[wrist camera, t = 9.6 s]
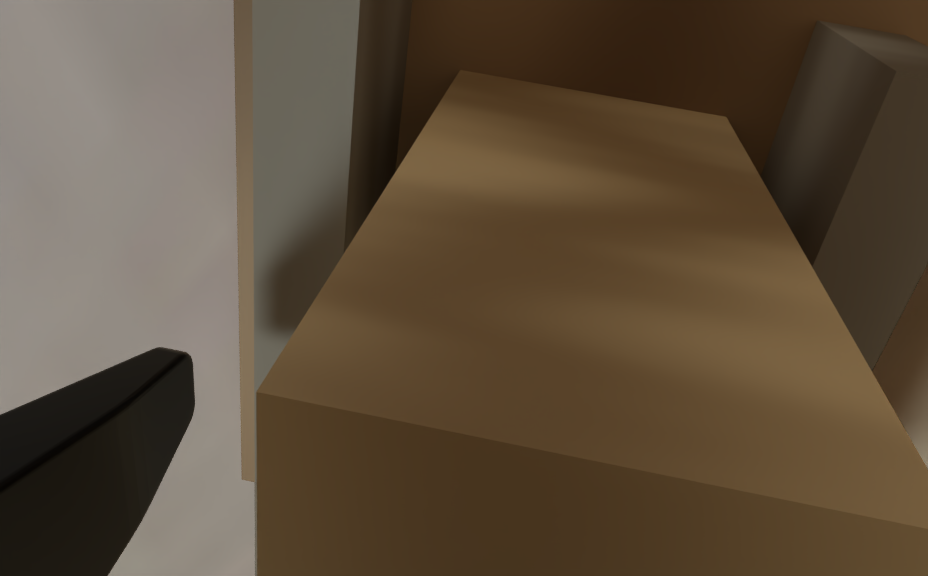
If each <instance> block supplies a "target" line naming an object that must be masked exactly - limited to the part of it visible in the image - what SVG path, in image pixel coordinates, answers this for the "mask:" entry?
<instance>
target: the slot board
mask: <svg viewBox="0 0 928 576" xmlns="http://www.w3.org/2000/svg"><path fill="white" fill-rule="evenodd" d="M234 49H235V108H236V167H237V226H238V285H239V344H240V403H241V462H242V480H247V481H252V482H255V576H257V436H256V392H257V390H258V388H259V387H260V385H261V384H262V382H263V380H264V379H265V377H266V376H267V374H268V373H269V371H270V369H271V368H272V366H273V365H274V363H275V362H276V360H277V358H278V357H279V355H280V354H281V352H282V350H283V349H284V347H285V346H286V344H287V343H288V341H289V339H290V338H291V336H292V335H293V333H294V332H295V330H296V328H297V327H298V325H299V324H300V322H301V321H302V319H303V317H304V316H305V314H306V313H307V311H308V309H309V308H310V306H311V305H312V303H313V302H314V300H315V298H316V297H317V295H318V294H319V292H320V291H321V289H322V287H323V286H324V284H325V283H326V281H327V279H328V278H329V276H330V275H331V273H332V272H333V270H334V268H335V267H336V265H337V264H338V262H339V261H340V259H341V257H342V256H343V254H344V253H345V251H346V249H347V248H348V246H349V245H350V243H351V242H352V240H353V238H354V237H355V235H356V234H357V232H358V231H359V229H360V227H361V226H362V224H363V223H364V221H365V220H366V218H367V216H368V215H369V213H370V212H371V210H372V208H373V207H374V205H375V204H376V202H377V201H378V199H379V197H380V196H381V194H382V193H383V191H384V190H385V188H386V186H387V185H388V183H389V182H390V180H391V178H392V177H393V175H394V174H395V172H396V171H397V169H398V167H399V166H400V164H401V163H402V161H403V160H404V158H405V156H406V155H407V153H408V152H409V150H410V148H411V147H412V145H413V144H414V142H415V141H416V139H417V137H418V136H419V134H420V133H421V131H422V130H423V128H424V126H425V125H426V123H427V122H428V120H429V119H430V117H431V115H432V114H433V112H434V111H435V109H436V107H437V106H438V104H439V103H440V101H441V100H442V98H443V96H444V95H445V93H446V92H447V90H448V89H449V87H450V85H451V84H452V82H453V81H454V79H455V77H456V76H457V74H458V73H459V71H460V70H464V71H469V72H475V73H481V74H486V75H492V76H498V77H503V78H509V79H515V80H520V81H526V82H532V83H537V84H543V85H549V86H554V87H560V88H566V89H571V90H577V91H583V92H588V93H594V94H600V95H605V96H611V97H617V98H622V99H628V100H633V101H639V102H645V103H650V104H656V105H662V106H667V107H673V108H679V109H684V110H690V111H696V112H701V113H707V114H713V115H718V116H724V117H727V119H728V121H729V123H730V124H731V126H732V128H733V130H734V131H735V133H736V135H737V137H738V138H739V140H740V142H741V144H742V145H743V147H744V149H745V151H746V152H747V154H748V156H749V158H750V159H751V161H752V163H753V165H754V166H755V168H756V170H757V172H758V173H759V175H760V177H761V179H762V180H763V182H764V184H765V186H766V187H767V189H768V191H769V193H770V194H771V196H772V198H773V199H774V201H775V203H776V205H777V206H778V208H779V210H780V212H781V213H782V215H783V217H784V219H785V220H786V222H787V224H788V226H789V227H790V229H791V231H792V233H793V234H794V236H795V238H796V240H797V241H798V243H799V245H800V247H801V248H802V250H803V252H804V254H805V255H806V257H807V259H808V261H809V262H810V264H811V266H812V268H813V269H814V271H815V273H816V275H817V276H818V278H819V280H820V282H821V283H822V285H823V287H824V289H825V290H826V292H827V294H828V296H829V297H830V299H831V301H832V303H833V304H834V306H835V308H836V310H837V311H838V313H839V315H840V317H841V318H842V320H843V322H844V324H845V325H846V327H847V329H848V331H849V332H850V334H851V336H852V338H853V339H854V341H855V343H856V345H857V346H858V348H859V350H860V352H861V353H862V355H863V357H864V359H865V360H866V362H867V364H868V366H869V367H870V369H871V371H872V370H873V368H874V367H875V365H876V363H877V361H878V359H879V357H880V355H881V353H882V351H883V349H884V347H885V345H886V343H887V341H888V340H889V338H890V336H891V334H892V332H893V330H894V328H895V326H896V324H897V322H898V320H899V318H900V316H901V315H902V313H903V311H904V309H905V307H906V305H907V303H908V301H909V299H910V297H911V295H912V293H913V291H914V289H915V288H916V286H917V284H918V282H919V280H920V278H921V276H922V274H923V272H924V270H925V268H926V266H927V264H928V0H234Z"/></svg>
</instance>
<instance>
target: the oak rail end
mask: <svg viewBox="0 0 928 576" xmlns="http://www.w3.org/2000/svg"><path fill="white" fill-rule="evenodd" d="M256 436H257V576H928V469H927V467H926V465H925V464H924V462H923V460H922V458H921V457H920V455H919V453H918V451H917V450H916V448H915V446H914V444H913V443H912V441H911V439H910V437H909V436H908V434H907V432H906V430H905V429H904V427H903V425H902V423H901V422H900V420H899V418H898V416H897V415H896V413H895V411H894V409H893V408H892V406H891V404H890V402H889V401H888V399H887V397H886V395H885V394H884V392H883V390H882V388H881V387H880V385H879V383H878V381H877V380H876V378H875V376H874V374H873V373H872V371H871V369H870V367H869V366H868V364H867V362H866V360H865V359H864V357H863V355H862V353H861V352H860V350H859V348H858V346H857V345H856V343H855V341H854V339H853V338H852V336H851V334H850V332H849V331H848V329H847V327H846V325H845V324H844V322H843V320H842V318H841V317H840V315H839V313H838V311H837V310H836V308H835V306H834V304H833V303H832V301H831V299H830V297H829V296H828V294H827V292H826V290H825V289H824V287H823V285H822V283H821V282H820V280H819V278H818V276H817V275H816V273H815V271H814V269H813V268H812V266H811V264H810V262H809V261H808V259H807V257H806V255H805V254H804V252H803V250H802V248H801V247H800V245H799V243H798V241H797V240H796V238H795V236H794V234H793V233H792V231H791V229H790V227H789V226H788V224H787V222H786V220H785V219H784V217H783V215H782V213H781V212H780V210H779V208H778V206H777V205H776V203H775V201H774V199H773V198H772V196H771V194H770V193H769V191H768V189H767V187H766V186H765V184H764V182H763V180H762V179H761V177H760V175H759V173H758V172H757V170H756V168H755V166H754V165H753V163H752V161H751V159H750V158H749V156H748V154H747V152H746V151H745V149H744V147H743V145H742V144H741V142H740V140H739V138H738V137H737V135H736V133H735V131H734V130H733V128H732V126H731V124H730V123H729V121H728V119H727V117H724V116H718V115H713V114H707V113H701V112H696V111H690V110H684V109H679V108H673V107H667V106H662V105H656V104H650V103H645V102H639V101H633V100H628V99H622V98H617V97H611V96H605V95H600V94H594V93H588V92H583V91H577V90H571V89H566V88H560V87H554V86H549V85H543V84H537V83H532V82H526V81H520V80H515V79H509V78H503V77H498V76H492V75H486V74H481V73H475V72H469V71H464V70H460V71H459V73H458V74H457V76H456V77H455V79H454V81H453V82H452V84H451V85H450V87H449V89H448V90H447V92H446V93H445V95H444V96H443V98H442V100H441V101H440V103H439V104H438V106H437V107H436V109H435V111H434V112H433V114H432V115H431V117H430V119H429V120H428V122H427V123H426V125H425V126H424V128H423V130H422V131H421V133H420V134H419V136H418V137H417V139H416V141H415V142H414V144H413V145H412V147H411V148H410V150H409V152H408V153H407V155H406V156H405V158H404V160H403V161H402V163H401V164H400V166H399V167H398V169H397V171H396V172H395V174H394V175H393V177H392V178H391V180H390V182H389V183H388V185H387V186H386V188H385V190H384V191H383V193H382V194H381V196H380V197H379V199H378V201H377V202H376V204H375V205H374V207H373V208H372V210H371V212H370V213H369V215H368V216H367V218H366V220H365V221H364V223H363V224H362V226H361V227H360V229H359V231H358V232H357V234H356V235H355V237H354V238H353V240H352V242H351V243H350V245H349V246H348V248H347V249H346V251H345V253H344V254H343V256H342V257H341V259H340V261H339V262H338V264H337V265H336V267H335V268H334V270H333V272H332V273H331V275H330V276H329V278H328V279H327V281H326V283H325V284H324V286H323V287H322V289H321V291H320V292H319V294H318V295H317V297H316V298H315V300H314V302H313V303H312V305H311V306H310V308H309V309H308V311H307V313H306V314H305V316H304V317H303V319H302V321H301V322H300V324H299V325H298V327H297V328H296V330H295V332H294V333H293V335H292V336H291V338H290V339H289V341H288V343H287V344H286V346H285V347H284V349H283V350H282V352H281V354H280V355H279V357H278V358H277V360H276V362H275V363H274V365H273V366H272V368H271V369H270V371H269V373H268V374H267V376H266V377H265V379H264V380H263V382H262V384H261V385H260V387H259V388H258V390H257V392H256Z"/></svg>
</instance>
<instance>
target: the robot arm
mask: <svg viewBox="0 0 928 576" xmlns="http://www.w3.org/2000/svg"><path fill="white" fill-rule="evenodd" d="M194 407H195V395H194V376H193V362H192V358H191V356H190V355H189V354H188V353H186V352H183V351H178V350H173V349H168V348H163V347H158V348H155V349H152V350H150V351H147V352H145V353H143V354H140V355H138V356H136V357H133V358H131V359H129V360H126V361H124V362H122V363H119V364H117V365H115V366H112V367H110V368H108V369H105V370H103V371H101V372H98V373H96V374H94V375H92V376H89V377H87V378H85V379H82V380H80V381H78V382H75V383H73V384H71V385H68V386H66V387H64V388H61V389H59V390H57V391H54V392H52V393H50V394H47V395H45V396H43V397H41V398H38V399H36V400H34V401H31V402H29V403H27V404H24V405H22V406H20V407H17V408H15V409H13V410H10V411H8V412H6V413H3V414H1V415H0V576H108V574H109V573H110V571H111V570H112V568H113V566H114V565H115V563H116V562H117V560H118V559H119V557H120V555H121V554H122V552H123V551H124V549H125V547H126V546H127V544H128V543H129V541H130V540H131V538H132V536H133V535H134V533H135V531H136V530H137V528H138V526H139V525H140V523H141V521H142V519H143V517H144V515H145V514H146V512H147V510H148V508H149V506H150V504H151V502H152V500H153V498H154V496H155V494H156V492H157V489H158V487H159V485H160V483H161V481H162V479H163V477H164V475H165V473H166V471H167V469H168V467H169V465H170V463H171V461H172V459H173V457H174V454H175V452H176V450H177V448H178V446H179V444H180V442H181V440H182V438H183V436H184V434H185V432H186V430H187V428H188V426H189V424H190V421H191V419H192V416H193V412H194Z"/></svg>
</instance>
